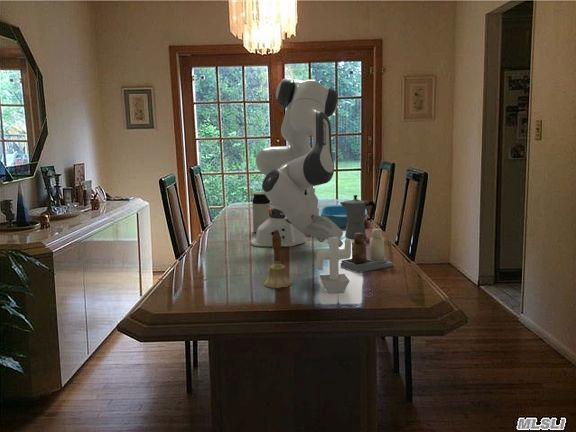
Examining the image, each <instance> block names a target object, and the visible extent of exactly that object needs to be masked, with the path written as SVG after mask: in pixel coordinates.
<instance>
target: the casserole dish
mask: <svg viewBox="0 0 576 432" xmlns="http://www.w3.org/2000/svg"><path fill="white" fill-rule="evenodd" d="M367 215H368V210H367V208H366V209H365V216H364V218H363V222H364V223H365V221H366V219H367ZM320 216H322V217H326V218H328V219H330V220H331V221H332V222H334V223H335V224H336V225H337V226H338V227H339V228H340V229H346V226H347V222H348V218H347V215H346V211H345V209H344V207H343V206H342V204H337V205H327V206H324V207H323V206H322V208H321V209H320Z"/></svg>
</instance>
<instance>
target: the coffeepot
mask: <svg viewBox="0 0 576 432" xmlns="http://www.w3.org/2000/svg"><path fill="white" fill-rule="evenodd" d="M339 205H342V206H343V207H344V209H345V211H346V215H347V218H348V222H347V226H346V228H345V234H344V237H345V239H347V238H348V239H350V240H354V233H364V239H366V238H367V233H366V227H365V226H366V225H365V221H364V222H363V218H364V216H365V209H366V210H367V208H366V207H368V206H372V207H371V209H370V212H369V217H366V221H372V220H373V217H374V214H375V212H376V209H377V204H376V203H375V201H374V200H361V199H358V195H356V194H354V195H353V199H349V200H346V201H341V202H340V203H339Z"/></svg>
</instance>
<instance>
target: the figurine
mask: <svg viewBox="0 0 576 432" xmlns="http://www.w3.org/2000/svg"><path fill="white" fill-rule="evenodd" d="M327 241H328V243H327V244H328V247H329V248H328V249H319V250H317V252H316V269H317V270H319V271H322V270H323V268H324V267H323V266H324V265H323V264H324V261H328V260H329V262H328V263H329V264H328V265H329V266H328V267H329V272H328V274H319V275H318V277H319V278H320V281H321V283H322V286H323V288H324V290H325V289H326V290H325V291H326V293H327V294H342V293H344V292H345V291H346V289H347V287H348V285H349V284H350V281H351V280H350V279H349V278H348V276H347V275H346V274H345V273H339V266H340V265H339V260H347V259H351V257H352V239H348V238H345V239H344V248H340V247H339V246H338V244H339V238H338V237H329V238H328V240H327Z"/></svg>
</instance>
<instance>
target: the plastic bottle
mask: <svg viewBox="0 0 576 432" xmlns="http://www.w3.org/2000/svg"><path fill="white" fill-rule="evenodd" d="M315 193H316V188H315V187H311V188H308V189H306V194H305V195H306V196H307V197H308V198H309V199H310V200H311V201H312V202H313V203H314V204H315V205H316V206H317V207H318V206H319V199H318V196H317V195H316V194H315Z"/></svg>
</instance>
